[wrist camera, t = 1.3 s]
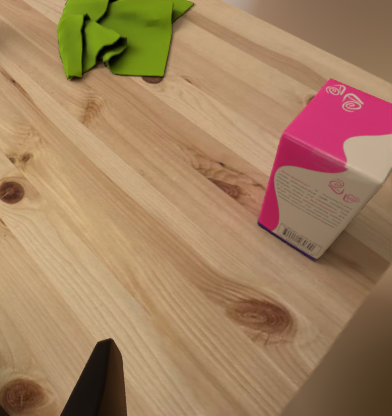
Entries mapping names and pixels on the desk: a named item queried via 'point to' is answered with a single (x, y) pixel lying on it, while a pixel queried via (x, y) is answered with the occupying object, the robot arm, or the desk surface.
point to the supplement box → (327, 167)
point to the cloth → (118, 35)
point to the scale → (3, 412)
